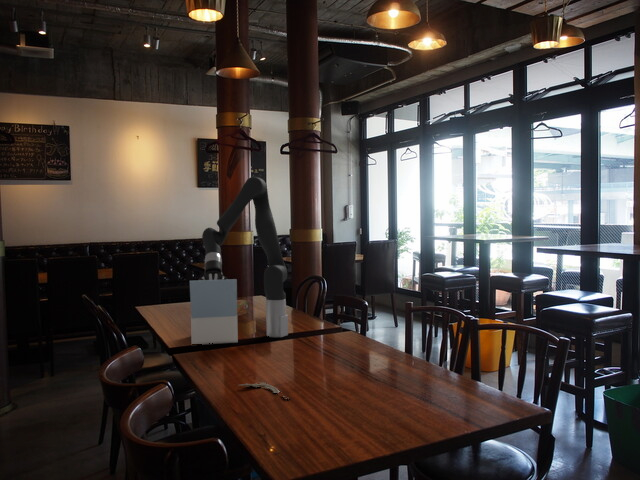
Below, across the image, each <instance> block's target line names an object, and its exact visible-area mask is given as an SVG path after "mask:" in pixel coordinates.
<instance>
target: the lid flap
mask: <svg viewBox="0 0 640 480" xmlns="http://www.w3.org/2000/svg"><path fill="white" fill-rule="evenodd" d="M237 282H238V280H237V278H233V279H228V278H227V280H222V279H221V280H199V279H198V280H189V298H190V319H191V318H205V317H226V316H237V301H238V283H237ZM237 317H238V316H237Z"/></svg>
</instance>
